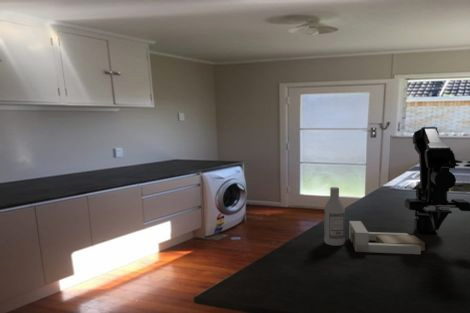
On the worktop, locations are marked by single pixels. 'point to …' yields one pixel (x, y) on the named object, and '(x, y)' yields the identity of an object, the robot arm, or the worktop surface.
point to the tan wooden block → (400, 240)
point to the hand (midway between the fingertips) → (436, 229)
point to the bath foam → (334, 219)
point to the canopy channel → (362, 238)
